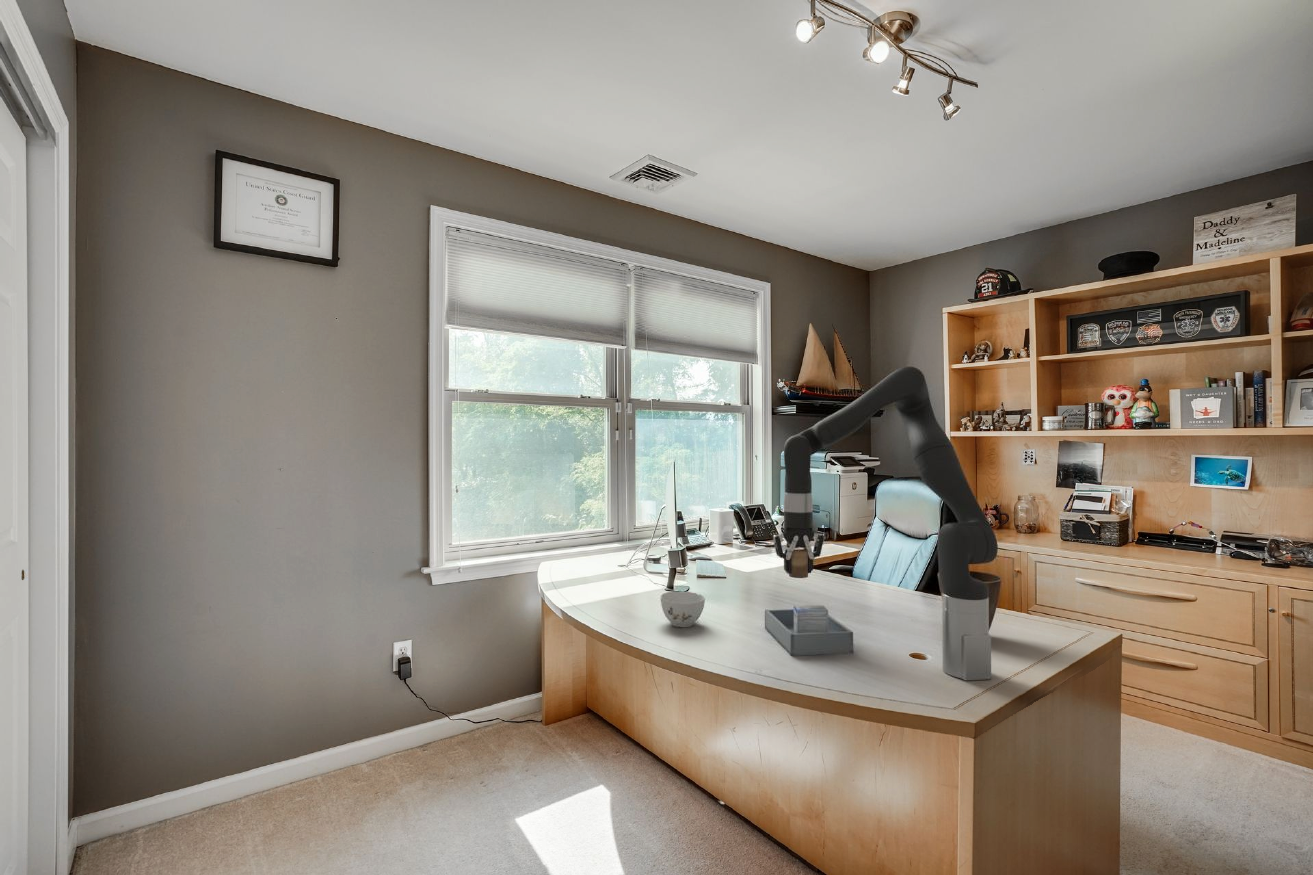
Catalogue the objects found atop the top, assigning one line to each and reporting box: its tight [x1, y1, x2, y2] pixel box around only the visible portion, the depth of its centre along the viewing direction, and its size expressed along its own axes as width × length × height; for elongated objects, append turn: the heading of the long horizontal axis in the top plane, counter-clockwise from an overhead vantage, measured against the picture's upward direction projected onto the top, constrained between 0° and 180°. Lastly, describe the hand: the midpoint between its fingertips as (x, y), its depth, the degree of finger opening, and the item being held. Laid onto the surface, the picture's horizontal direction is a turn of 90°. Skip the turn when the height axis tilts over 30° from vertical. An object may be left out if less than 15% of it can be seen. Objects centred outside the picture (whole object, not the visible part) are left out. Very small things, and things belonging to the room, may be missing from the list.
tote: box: [764, 608, 854, 657], centre depth 160 cm, size 22×16×5 cm
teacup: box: [660, 590, 706, 628], centre depth 175 cm, size 15×12×8 cm
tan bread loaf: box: [788, 547, 809, 579], centre depth 167 cm, size 5×5×7 cm
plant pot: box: [937, 570, 1002, 631], centre depth 162 cm, size 15×15×16 cm
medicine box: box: [793, 604, 829, 634], centre depth 157 cm, size 8×4×9 cm, turn 89°
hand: (798, 572), depth 166 cm, fingers closed on tan bread loaf, 5 cm apart
